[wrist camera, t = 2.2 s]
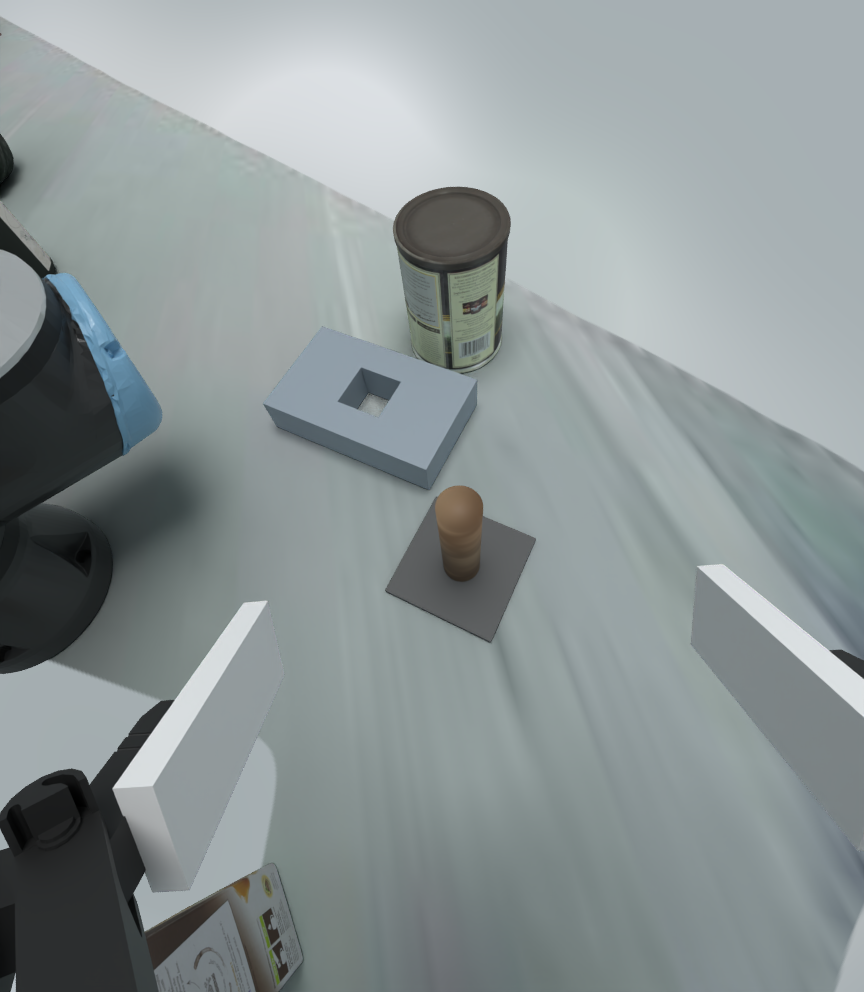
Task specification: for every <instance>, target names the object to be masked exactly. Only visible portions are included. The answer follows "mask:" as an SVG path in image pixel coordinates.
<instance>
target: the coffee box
mask: <svg viewBox="0 0 864 992" xmlns="http://www.w3.org/2000/svg"><path fill="white" fill-rule="evenodd" d="M145 936H146V941H147V945H148V949H149V953H150V957H151V961H152V965H153V969H154V973H155V977H156V981H157V986H158V990H159V992H279V991H280V990H281V988H282V987H283V986H284V984H285V983H286V982H287V981H288V979H289V978H290V977H291V975H292V974H293V973H294V972H295V970H296V969H297V968H298V967H299V965H300V964H301V963H302V961H303V956H302V952H301V949H300V945H299V942H298V939H297V935H296V932H295V928H294V925H293V921H292V918H291V915H290V911H289V908H288V904H287V901H286V898H285V894H284V891H283V888H282V885H281V881H280V878H279V875H278V872H277V868H276V866H275V865H274V864H273V863H270V864H268V865H266V866H264V867H262V868H260V869H258V870H257V871H255V872H252V873H251V874H249V875H247V876H245V877H243V878H241V879H239V880H237V881H236V882H234V883H232V884H230V885H228V886H226V887H224V888H222V889H220V890H219V891H217V892H215V893H213V894H211V895H209V896H208V897H206V898H204V899H202V900H200V901H198V902H197V903H195V904H193V905H191V906H189V907H187V908H186V909H184V910H182V911H180V912H179V913H177V914H175V915H173V916H172V917H170V918H168V919H166V920H164V921H163V922H161V923H159V924H158V925H156V926H154V927H152V928H151V929H149V930H147V931H145Z"/></svg>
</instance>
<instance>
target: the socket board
mask: <svg viewBox="0 0 864 992" xmlns="http://www.w3.org/2000/svg"><path fill="white" fill-rule="evenodd" d="M368 392H369V393H371V394H374V395H377V396H379V397H382V398H385V399H387V400H389V402H388V403H387V405H386V406H385V408H384V409H383V411H382V413H381V414H380V416H379V417H376V416H373V415H371V414H368V413H366V412H363V411H360V410H358V407H359V406H360V404H361V403H362V401H363V400H364V398H365V397H366V395H367V394H368ZM263 405H264V406H265V408H266V409H267V411H268V413H269V414H270V416H271V418H272V419H273V421H274V423H275V424H276V426H277V427H279V428H281V429H284V430H286V431H289V432H291V433H293V434H296V435H298V436H301V437H303V438H305V439H308V440H310V441H313V442H315V443H317V444H320V445H322V446H325V447H327V448H329V449H332V450H334V451H337V452H339V453H341V454H344V455H346V456H349V457H351V458H353V459H356V460H358V461H360V462H363V463H365V464H368V465H370V466H372V467H375V468H377V469H380V470H382V471H384V472H387V473H389V474H392V475H394V476H396V477H399V478H401V479H404V480H406V481H408V482H411V483H413V484H416V485H418V486H420V487H423V488H425V489H428V490H430V488H431V486H432V484H433V483H434V481H435V479H436V477H437V475H438V474H439V472H440V470H441V468H442V466H443V465H444V463H445V461H446V459H447V457H448V456H449V454H450V452H451V450H452V448H453V447H454V445H455V443H456V441H457V439H458V438H459V436H460V434H461V432H462V430H463V429H464V427H465V425H466V423H467V421H468V419H469V418H470V416H471V414H472V412H473V410H474V409H475V407H476V405H477V379H474V378H471V377H468V376H465V375H462V374H459V373H456V372H454V371H451V370H448V369H445V368H442V367H439V366H436V365H433V364H430V363H427V362H425V361H422V360H419V359H416V358H413V357H410V356H407V355H404V354H401V353H398V352H396V351H393V350H390V349H387V348H384V347H381V346H378V345H375V344H372V343H369V342H367V341H364V340H361V339H358V338H355V337H352V336H349V335H346V334H343V333H340V332H338V331H335V330H332V329H329V328H326V327H323V326H322V327H321V328H320V330H319V331H318V332H317V333H316V335H315V336H314V337H313V339H312V340H311V341H310V343H309V344H308V345H307V347H306V348H305V349H304V350H303V352H302V353H301V354H300V356H299V357H298V358H297V360H296V361H295V362H294V364H293V365H292V366H291V367H290V369H289V370H288V371H287V373H286V374H285V375H284V377H283V378H282V379H281V381H280V382H279V383H278V384H277V386H276V387H275V388H274V390H273V391H272V392H271V394H270V395H269V396H268V398H267V399H266V400H265V401H264V403H263Z"/></svg>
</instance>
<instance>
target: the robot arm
mask: <svg viewBox="0 0 864 992" xmlns="http://www.w3.org/2000/svg"><path fill="white" fill-rule="evenodd" d="M161 421H162V410H161V407H160V405H159V403H158V401H157V399H156V398H155V396H154V395H153V393H152V391H151V390H150V388H149V387H148V385H147V384H146V382H145V381H144V379H143V378H142V376H141V375H140V373H139V372H138V370H137V369H136V367H135V366H134V364H133V363H132V361H131V360H130V358H129V357H128V355H127V354H126V352H125V351H124V350H123V348H122V347H121V345H120V343H119V342H118V340H117V339H116V337H115V336H114V334H113V333H112V331H111V329H110V328H109V326H108V325H107V323H106V322H105V320H104V319H103V317H102V316H101V314H100V313H99V311H98V310H97V308H96V307H95V306H94V304H93V303H92V301H91V300H90V298H89V297H88V295H87V294H86V292H85V291H84V290H83V288H82V287H81V285H80V284H79V282H78V281H77V280H76V279H75V277H73V276H72V275H70V274H68V273H59V274H56V275H54V274H49V275H47V276H46V277H45V278H41V277H40V276H39V275H38V274H37V273H36V272H35V271H34V270H33V269H32V268H31V267H30V266H29V265H28V264H26V263H25V262H24V261H23V260H21V259H20V258H19V257H17V256H16V255H14V254H11V253H9V252H7V251H4V250H0V674H5V673H13V672H18V671H22V670H25V669H28V668H31V667H33V666H36V665H38V664H40V663H42V662H44V661H46V660H48V659H50V658H51V657H53V656H55V655H56V654H58V653H59V652H60V651H62V650H63V649H64V648H66V647H67V646H68V645H69V644H70V643H72V642H73V641H74V640H75V639H76V638H77V637H78V636H79V635H80V634H81V633H82V632H83V631H84V629H85V628H86V627H87V626H88V625H89V623H90V622H91V620H92V619H93V618H94V616H95V615H96V613H97V612H98V610H99V608H100V606H101V604H102V602H103V600H104V598H105V596H106V593H107V590H108V587H109V584H110V579H111V574H112V554H111V549H110V546H109V543H108V541H107V539H106V537H105V535H104V534H103V532H102V531H101V530H100V529H99V527H97V526H96V525H95V524H94V523H93V522H91V521H89V520H88V519H86V518H84V517H83V516H81V515H79V514H77V513H76V512H74V511H72V510H69V509H66V508H63V507H60V506H56V505H50V504H43V503H42V502H44V501H46V500H47V499H49V498H51V497H52V496H54V495H56V494H58V493H59V492H61V491H63V490H64V489H66V488H68V487H69V486H71V485H73V484H74V483H76V482H78V481H80V480H81V479H83V478H85V477H86V476H88V475H90V474H91V473H93V472H95V471H97V470H98V469H100V468H102V467H103V466H105V465H107V464H108V463H110V462H112V461H113V460H115V459H117V458H119V457H120V456H124V455H125V454H127V453H128V452H129V451H130V448H132V447H133V446H135V445H136V444H137V443H139V442H140V441H142V440H143V439H145V438H146V437H147V436H149V435H150V434H152V433H153V432H154V431H156V430H157V428H158V427H159V425H160V423H161ZM691 645H692V647H693V648H694V649H695V650H696V651H697V653H698V654H699V655H700V656H701V658H702V659H703V660H704V661H705V663H706V664H707V665H708V666H709V668H710V669H711V670H712V671H713V672H714V674H715V675H716V676H717V677H718V679H719V680H720V681H721V682H722V684H723V685H724V686H725V687H726V689H727V690H728V691H729V692H730V693H731V695H732V696H733V697H734V698H735V700H736V701H737V702H738V703H739V705H740V706H741V707H742V708H743V709H744V711H745V712H746V713H747V714H748V716H749V717H750V718H751V719H752V721H753V722H754V723H755V724H756V726H757V727H758V728H759V729H760V730H761V732H762V733H763V734H764V735H765V737H766V738H767V739H768V740H769V742H770V743H771V744H772V745H773V747H774V748H775V749H776V750H777V751H778V753H779V754H780V755H781V756H782V758H783V759H784V760H785V761H786V763H787V764H788V765H789V766H790V768H791V769H792V770H793V771H794V772H795V774H796V775H797V776H798V777H799V779H800V780H801V781H802V782H803V784H804V785H805V786H806V787H807V788H808V790H809V791H810V792H811V793H812V795H813V796H814V797H815V798H816V800H817V801H818V802H819V803H820V805H821V806H822V807H823V808H824V809H825V811H826V812H827V813H828V814H829V816H830V817H831V818H832V819H833V821H834V822H835V823H836V824H837V826H838V827H839V828H840V829H841V830H842V832H843V833H844V834H845V835H846V837H847V838H848V839H849V840H850V842H851V843H852V844H853V845H854V846H855V848H856V849H857V850H858V851H864V661H863V660H861V659H859V658H857V657H855V656H853V655H851V654H849V653H847V652H845V651H843V650H827V649H826V648H825V647H824V646H823V645H821V644H820V643H819V642H818V641H816V640H815V639H814V638H813V637H811V636H810V635H809V634H808V633H807V632H805V631H804V630H803V629H802V628H800V627H799V626H798V625H797V624H796V623H794V622H793V621H792V620H791V619H789V618H788V617H787V616H786V615H785V614H783V613H782V612H781V611H780V610H778V609H777V608H776V607H775V606H773V605H772V604H771V603H770V602H769V601H767V600H766V599H765V598H764V597H762V596H761V595H760V594H759V593H758V592H756V591H755V590H754V589H753V588H751V587H750V586H749V585H748V584H747V583H745V582H744V581H743V580H742V579H740V578H739V577H738V576H737V575H735V574H734V573H733V572H732V571H731V570H729V569H728V568H727V567H726V566H724V565H723V564H718V565H706V566H697V571H696V584H695V596H694V609H693V621H692V634H691ZM284 675H285V674H284V670H283V665H282V661H281V656H280V652H279V647H278V643H277V638H276V634H275V629H274V625H273V621H272V616H271V612H270V607H269V603H268V601H259V602H246V603H243V605H242V606H241V607H240V609H239V610H238V612H237V613H236V615H235V616H234V617H233V619H232V620H231V622H230V623H229V624H228V626H227V627H226V629H225V630H224V632H223V633H222V634H221V636H220V637H219V639H218V640H217V641H216V643H215V644H214V646H213V647H212V648H211V650H210V651H209V653H208V654H207V656H206V657H205V658H204V660H203V661H202V663H201V664H200V665H199V667H198V668H197V670H196V671H195V673H194V674H193V675H192V677H191V678H190V680H189V681H188V682H187V684H186V685H185V687H184V688H183V689H182V691H181V692H180V694H179V695H178V697H177V698H176V699H175V700H167V701H160V702H159V703H158V704H157V705H155V706H154V707H153V708H152V709H150V710H149V711H148V712H147V713H146V714H145V715H143V716H142V717H141V718H140V719H139V721H138V722H137V723H136V725H135V726H134V727H133V729H132V730H131V731H130V733H129V736H128V737H126V738H125V739H124V741H123V742H122V743H121V745H120V746H119V747H118V751H117V752H114V754H113V755H112V756H111V757H110V759H109V760H108V761H107V763H106V764H105V765H104V767H103V768H102V769H101V770H100V772H99V773H98V774H97V776H96V777H95V779H94V780H93V781H92V782H91V784H90V785H89V783H88V780H87V778H86V776H85V775H84V774H83V772H82V771H79V770H75V769H67V770H60V771H56V772H54V773H51V774H48V775H46V776H43V777H41V778H39V779H38V780H36V781H34V782H33V783H31V784H29V785H28V786H26V787H25V788H23V789H22V790H21V791H20V792H19V793H18V794H16V795H15V796H14V797H13V798H11V800H10V801H9V802H8V803H7V805H6V806H5V807H4V808H3V810H2V811H1V813H0V829H1V831H2V833H3V835H4V837H5V839H6V841H7V843H8V845H9V847H10V848H7V849H4V850H1V851H0V992H10V991H11V988H12V984H13V980H14V976H15V973H16V992H159V990H158V986H157V981H156V977H155V973H154V969H153V965H152V961H151V957H150V953H149V949H148V945H147V941H146V936H145V932H144V928H143V924H142V920H141V916H140V912H139V908H138V904H137V901H136V899H135V896H134V894H133V893H134V891H135V889H136V887H137V885H138V884H139V882H140V880H141V878H142V876H143V874H144V872H145V874H146V877H147V879H148V882H149V884H150V887H151V890H152V892H169V891H185V890H190V888H191V886H192V884H193V881H194V879H195V877H196V874H197V872H198V870H199V868H200V865H201V863H202V861H203V859H204V856H205V854H206V851H207V849H208V847H209V845H210V843H211V840H212V838H213V836H214V834H215V831H216V829H217V827H218V824H219V822H220V820H221V818H222V815H223V813H224V811H225V809H226V807H227V804H228V802H229V799H230V797H231V795H232V793H233V791H234V788H235V786H236V784H237V782H238V779H239V777H240V775H241V772H242V770H243V768H244V766H245V763H246V761H247V759H248V757H249V754H250V752H251V750H252V747H253V745H254V743H255V741H256V738H257V736H258V734H259V732H260V729H261V727H262V725H263V723H264V720H265V718H266V716H267V714H268V711H269V709H270V707H271V704H272V702H273V700H274V698H275V695H276V693H277V691H278V689H279V686H280V684H281V682H282V680H283V677H284Z"/></svg>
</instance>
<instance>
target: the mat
mask: <svg viewBox="0 0 864 992" xmlns="http://www.w3.org/2000/svg"><path fill="white" fill-rule="evenodd" d="M437 498H438V497H436V498H435V499H434V501H433V503H432V505H431V507H430V509H429V510H428V512H427V514H426V516H425V518H424V520H423V521H422V523H421V525H420V527H419V529H418V531H417V532H416V534H415V536H414V538H413V540H412V542H411V543H410V545H409V547H408V549H407V551H406V553H405V555H404V556H403V558H402V560H401V562H400V564H399V566H398V567H397V569H396V571H395V573H394V575H393V577H392V578H391V580H390V582H389V584H388V586H387V588H386V589H385V591H386V592H388V593H390V594H392V595H394V596H396V597H398V598H400V599H402V600H404V601H406V602H408V603H410V604H413V605H415V606H417V607H419V608H421V609H423V610H425V611H427V612H429V613H431V614H433V615H435V616H437V617H439V618H441V619H443V620H445V621H447V622H449V623H452V624H454V625H456V626H458V627H460V628H462V629H464V630H466V631H468V632H470V633H472V634H474V635H476V636H478V637H480V638H482V639H484V640H486V641H488V642H490V643H491V641H492V638H493V636H494V634H495V632H496V629H497V627H498V625H499V622H500V620H501V618H502V616H503V613H504V611H505V609H506V606H507V604H508V602H509V600H510V597H511V595H512V593H513V590H514V588H515V586H516V584H517V581H518V579H519V577H520V574H521V572H522V570H523V568H524V565H525V563H526V561H527V558H528V556H529V554H530V552H531V549H532V547H533V545H534V542H535V540H536V538H534V537H531V536H529V535H526V534H524V533H522V532H519V531H517V530H515V529H512V528H510V527H507V526H505V525H503V524H500V523H498V522H495V521H493V520H491V519H488V518H486V517H484V516H483V518H482V535H481V552H480V567H479V571H478V573H477V574H476V575H475V576H474V577H473V578H472V579H470V580H468V581H464V582H459V581H455V580H453V579H451V578H450V577H449V576H448V575H447V574H446V572H445V570H444V566H443V559H442V552H441V546H440V539H439V532H438V525H437V519H436V512H435V503H436V500H437Z"/></svg>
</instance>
